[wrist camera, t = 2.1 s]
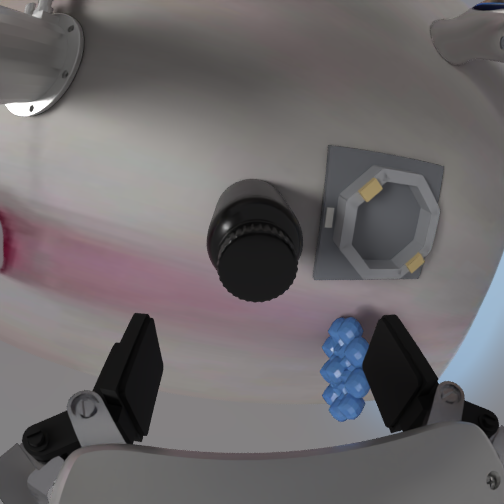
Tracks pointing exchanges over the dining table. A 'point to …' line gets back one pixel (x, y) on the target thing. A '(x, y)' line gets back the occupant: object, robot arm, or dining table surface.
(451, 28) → the beer glass
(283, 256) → the supplement bottle
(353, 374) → the blue petal flower
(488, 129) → the dining table surface
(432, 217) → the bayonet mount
